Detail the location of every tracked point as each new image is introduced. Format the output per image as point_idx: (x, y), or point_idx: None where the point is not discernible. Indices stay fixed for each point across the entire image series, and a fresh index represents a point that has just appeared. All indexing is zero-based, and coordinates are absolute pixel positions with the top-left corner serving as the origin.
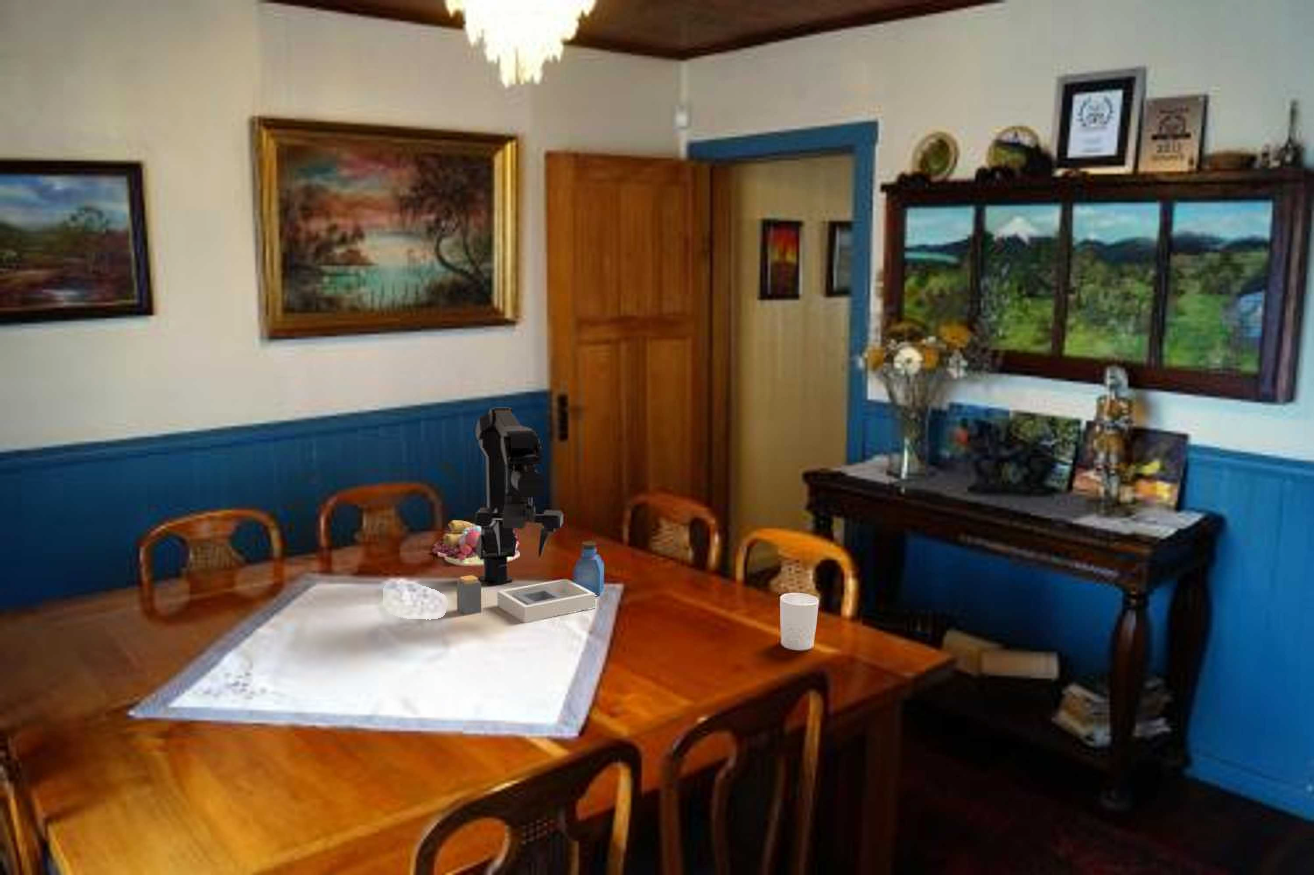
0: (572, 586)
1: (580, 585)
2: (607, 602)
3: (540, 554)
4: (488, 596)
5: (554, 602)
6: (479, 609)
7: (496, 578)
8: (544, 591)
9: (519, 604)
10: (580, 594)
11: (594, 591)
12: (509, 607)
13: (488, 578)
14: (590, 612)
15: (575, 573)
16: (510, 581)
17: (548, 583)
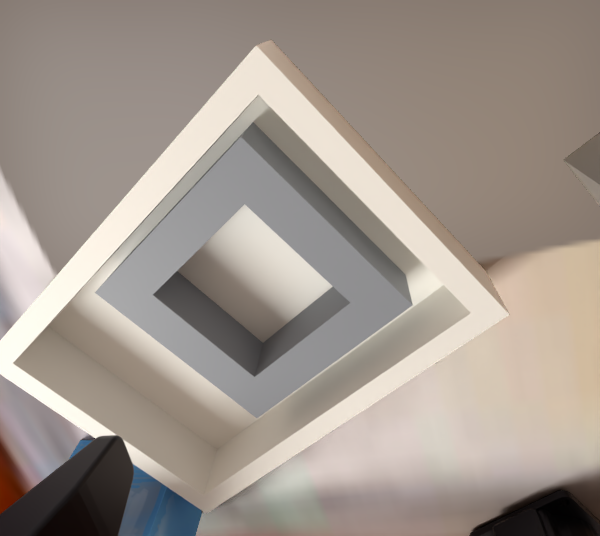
0: (151, 447)
1: (140, 477)
2: (19, 389)
3: (79, 453)
4: (551, 380)
5: (120, 202)
6: (581, 158)
7: (542, 525)
8: (255, 374)
9: (312, 104)
10: (99, 392)
11: None
12: (401, 186)
13: (579, 529)
14: (22, 269)
15: (142, 527)
16: (477, 530)
17: (263, 454)
